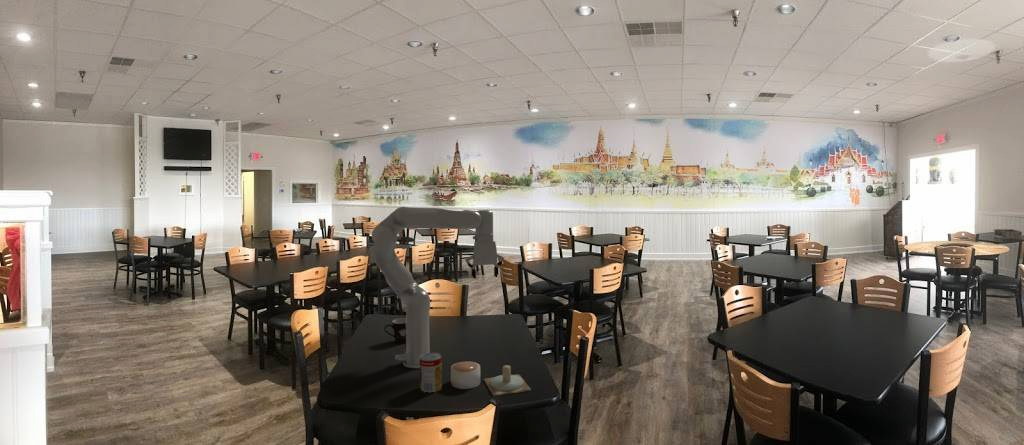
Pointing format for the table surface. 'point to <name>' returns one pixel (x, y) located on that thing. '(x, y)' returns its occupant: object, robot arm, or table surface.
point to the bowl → (465, 375)
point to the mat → (498, 392)
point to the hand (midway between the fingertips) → (485, 277)
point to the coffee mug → (398, 330)
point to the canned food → (431, 372)
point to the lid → (506, 381)
